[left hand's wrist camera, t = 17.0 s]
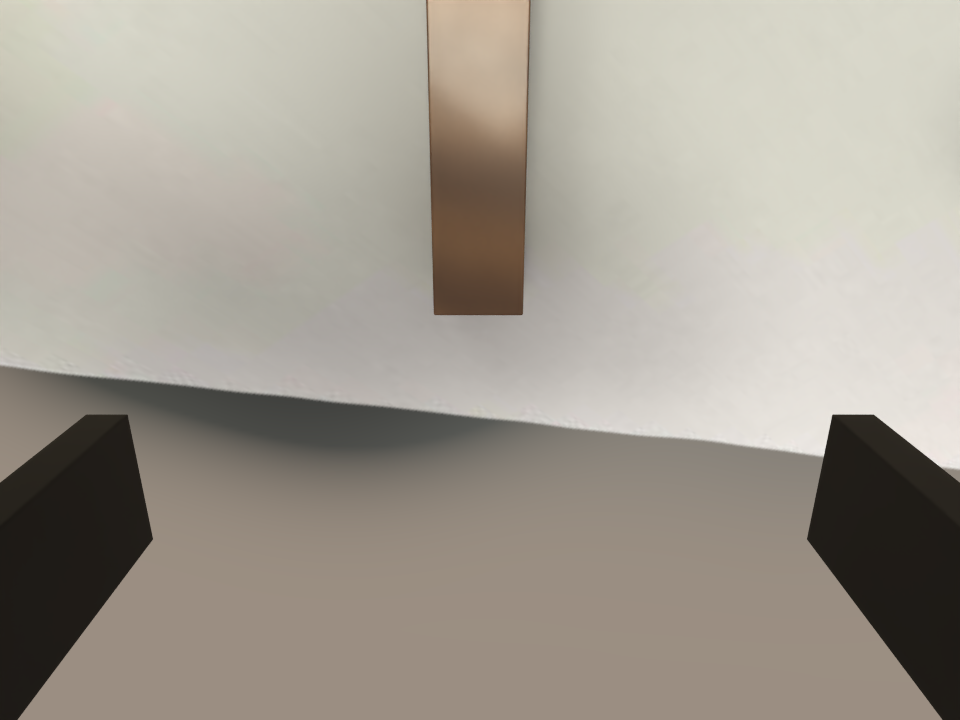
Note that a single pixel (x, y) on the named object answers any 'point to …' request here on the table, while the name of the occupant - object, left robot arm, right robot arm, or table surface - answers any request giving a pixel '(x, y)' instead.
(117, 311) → the table surface
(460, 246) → the bar
